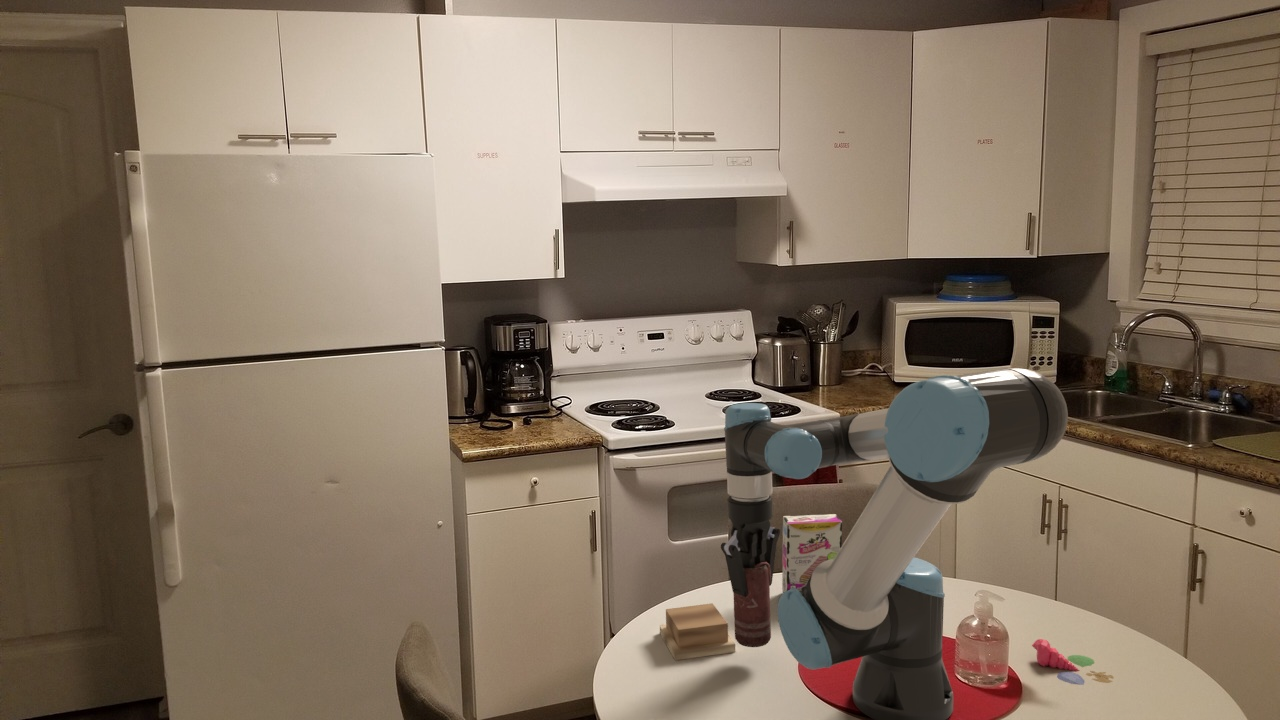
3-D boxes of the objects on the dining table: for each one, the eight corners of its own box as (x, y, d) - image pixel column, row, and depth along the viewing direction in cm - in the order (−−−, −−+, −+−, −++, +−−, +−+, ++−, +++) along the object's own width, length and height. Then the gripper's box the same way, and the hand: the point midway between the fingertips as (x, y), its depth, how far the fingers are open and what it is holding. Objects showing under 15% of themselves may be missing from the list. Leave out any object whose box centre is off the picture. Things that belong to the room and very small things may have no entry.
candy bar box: (787, 602, 182) (786, 523, 180) (781, 592, 187) (781, 515, 184) (842, 599, 183) (842, 520, 180) (835, 589, 188) (835, 512, 185)
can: (774, 647, 154) (772, 567, 152) (736, 648, 154) (734, 569, 152) (770, 631, 160) (768, 554, 158) (733, 632, 160) (731, 556, 158)
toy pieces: (1043, 686, 148) (1044, 660, 147) (1028, 653, 159) (1029, 629, 158) (1124, 691, 145) (1125, 665, 145) (1103, 658, 156) (1104, 633, 156)
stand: (735, 651, 162) (734, 625, 161) (675, 660, 160) (674, 633, 159) (716, 625, 173) (716, 600, 172) (659, 633, 170) (659, 607, 170)
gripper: (757, 484, 161) (761, 612, 164) (706, 500, 152) (711, 636, 155) (792, 491, 155) (795, 624, 158) (741, 508, 146) (745, 649, 149)
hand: (753, 629), depth 156 cm, fingers closed
